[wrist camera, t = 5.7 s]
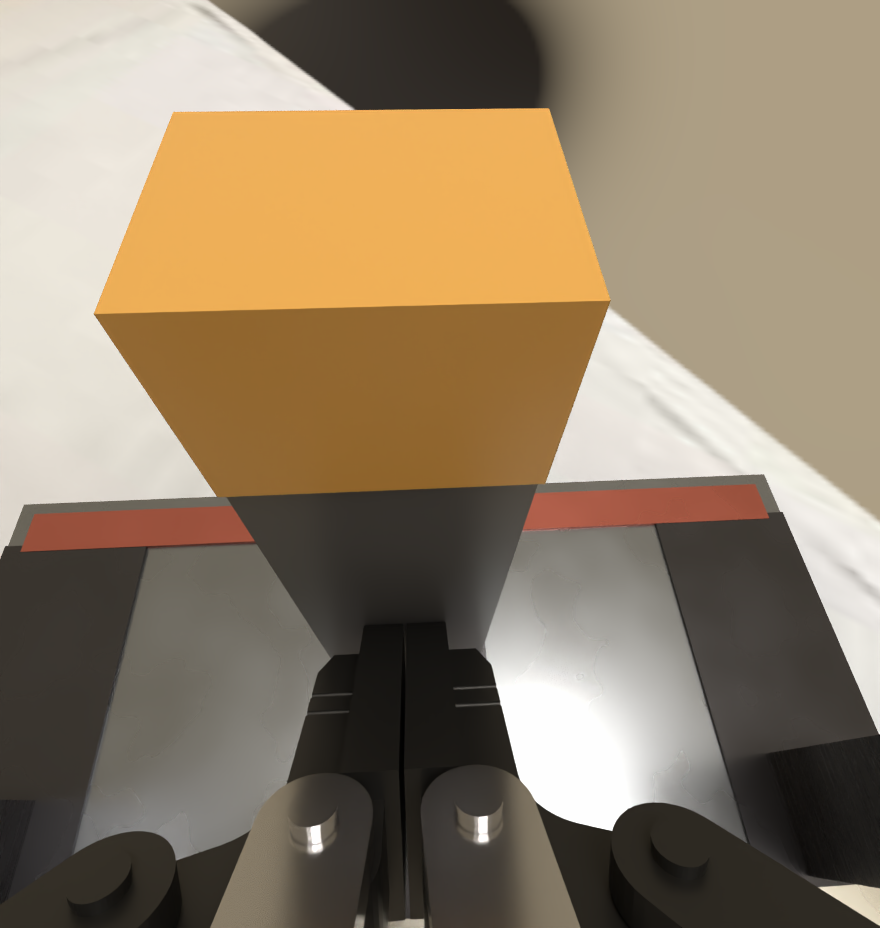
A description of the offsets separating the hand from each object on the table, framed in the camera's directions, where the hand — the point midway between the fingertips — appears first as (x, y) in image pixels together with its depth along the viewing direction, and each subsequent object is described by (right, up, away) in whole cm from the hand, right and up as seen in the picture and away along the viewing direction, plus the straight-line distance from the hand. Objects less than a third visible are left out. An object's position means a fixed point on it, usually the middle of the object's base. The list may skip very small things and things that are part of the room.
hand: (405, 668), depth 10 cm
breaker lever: (0, -1, +4) cm, 4 cm away
